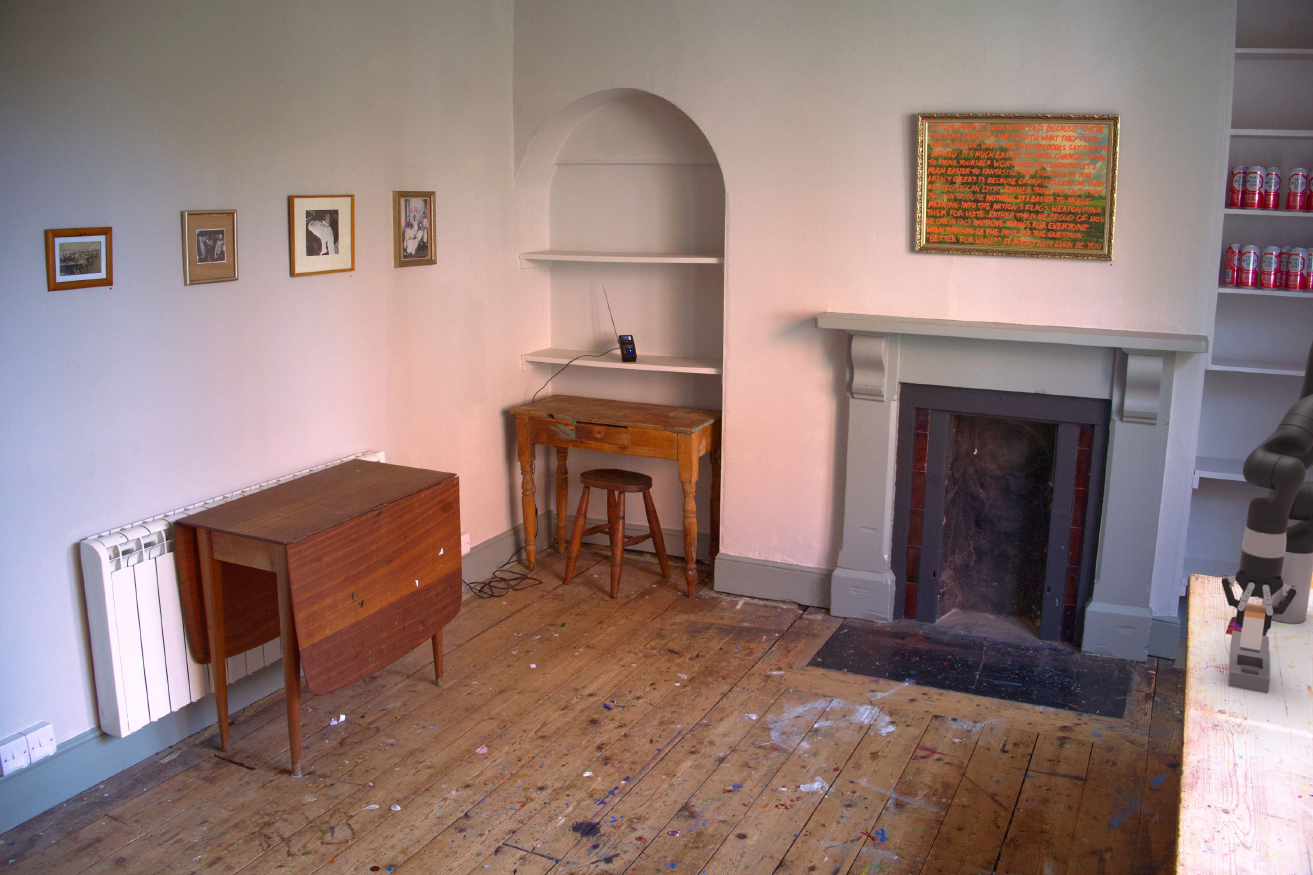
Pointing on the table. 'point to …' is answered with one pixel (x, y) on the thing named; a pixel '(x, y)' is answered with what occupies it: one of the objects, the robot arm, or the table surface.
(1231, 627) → the smartphone
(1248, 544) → the robot arm
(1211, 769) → the table surface
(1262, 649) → the power strip
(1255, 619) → the orange-topped block
